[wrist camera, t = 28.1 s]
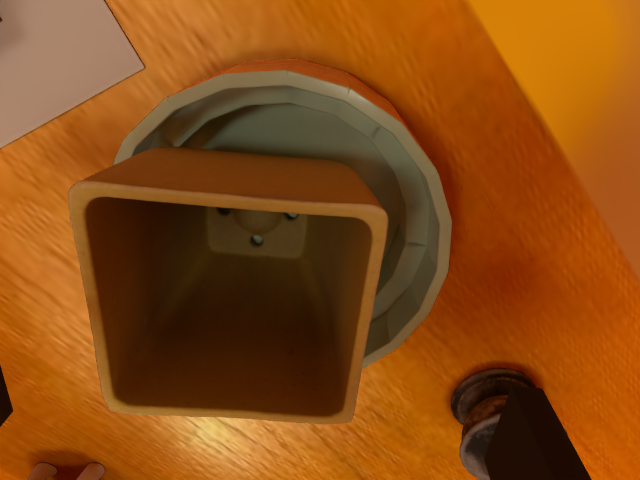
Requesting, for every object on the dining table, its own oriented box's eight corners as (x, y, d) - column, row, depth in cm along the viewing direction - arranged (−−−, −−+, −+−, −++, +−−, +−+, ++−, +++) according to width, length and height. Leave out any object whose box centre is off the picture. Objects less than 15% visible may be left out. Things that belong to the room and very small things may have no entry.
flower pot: (363, 127, 20) (394, 210, 12) (340, 289, 24) (352, 430, 16) (164, 107, 20) (61, 181, 12) (174, 276, 24) (103, 414, 16)
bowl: (481, 227, 23) (516, 279, 19) (276, 358, 27) (264, 426, 23) (303, -18, 18) (293, -28, 14) (89, 186, 23) (29, 230, 18)
